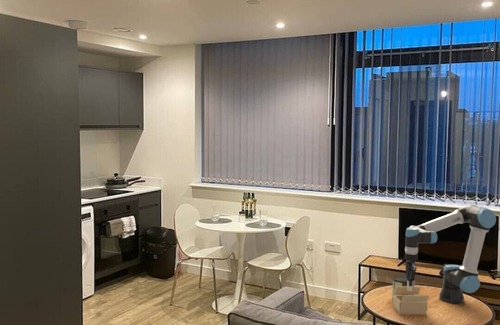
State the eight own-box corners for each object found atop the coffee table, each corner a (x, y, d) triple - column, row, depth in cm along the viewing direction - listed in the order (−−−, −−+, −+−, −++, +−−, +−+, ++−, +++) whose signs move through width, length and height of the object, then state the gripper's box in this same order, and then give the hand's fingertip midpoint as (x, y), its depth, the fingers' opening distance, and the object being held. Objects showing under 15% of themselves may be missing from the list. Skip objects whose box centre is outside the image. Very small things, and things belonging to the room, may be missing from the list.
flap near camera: (429, 295, 297) (429, 296, 296) (426, 301, 301) (426, 301, 300) (404, 295, 296) (404, 295, 296) (401, 300, 300) (401, 301, 300)
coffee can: (407, 297, 331) (408, 277, 330) (409, 303, 321) (410, 281, 320) (391, 296, 333) (392, 275, 332) (392, 301, 323) (393, 280, 322)
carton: (419, 307, 313) (420, 295, 313) (427, 315, 301) (427, 302, 301) (392, 307, 313) (393, 295, 312) (399, 314, 301) (399, 301, 300)
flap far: (418, 294, 312) (418, 294, 313) (420, 286, 310) (420, 286, 310) (394, 294, 312) (394, 293, 312) (396, 286, 309) (396, 286, 310)
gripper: (401, 250, 313) (399, 287, 314) (409, 255, 300) (407, 294, 301) (413, 250, 313) (411, 287, 315) (421, 256, 300) (419, 294, 302)
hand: (409, 290), depth 308 cm, fingers closed
